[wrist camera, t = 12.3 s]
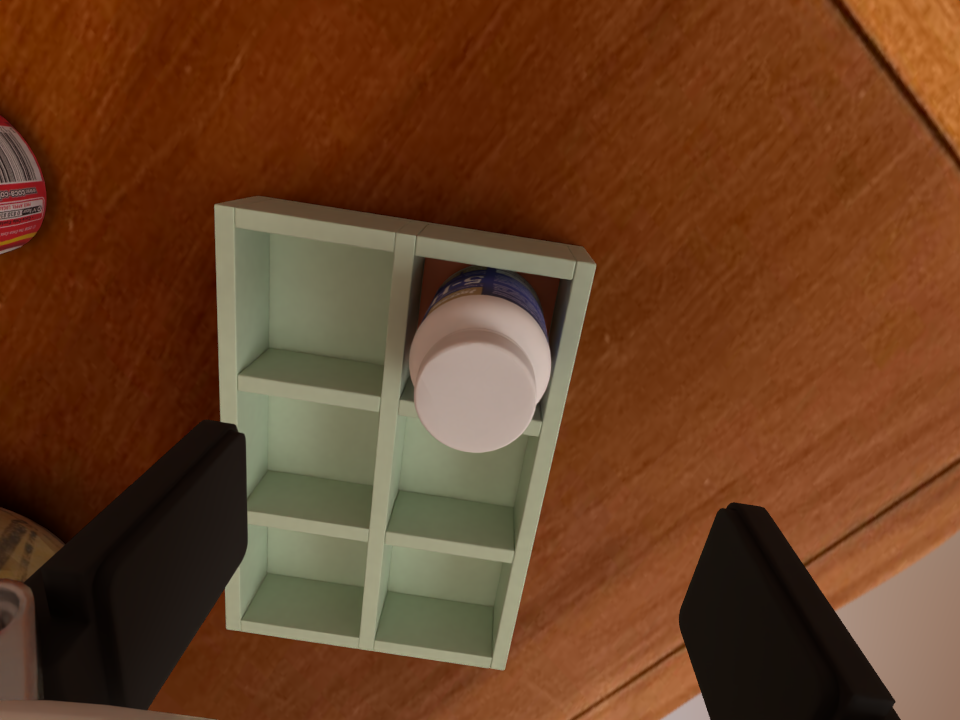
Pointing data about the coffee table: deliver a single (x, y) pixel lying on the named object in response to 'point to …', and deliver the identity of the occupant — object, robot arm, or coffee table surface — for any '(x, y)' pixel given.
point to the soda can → (19, 190)
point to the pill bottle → (480, 359)
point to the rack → (375, 432)
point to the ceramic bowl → (24, 546)
